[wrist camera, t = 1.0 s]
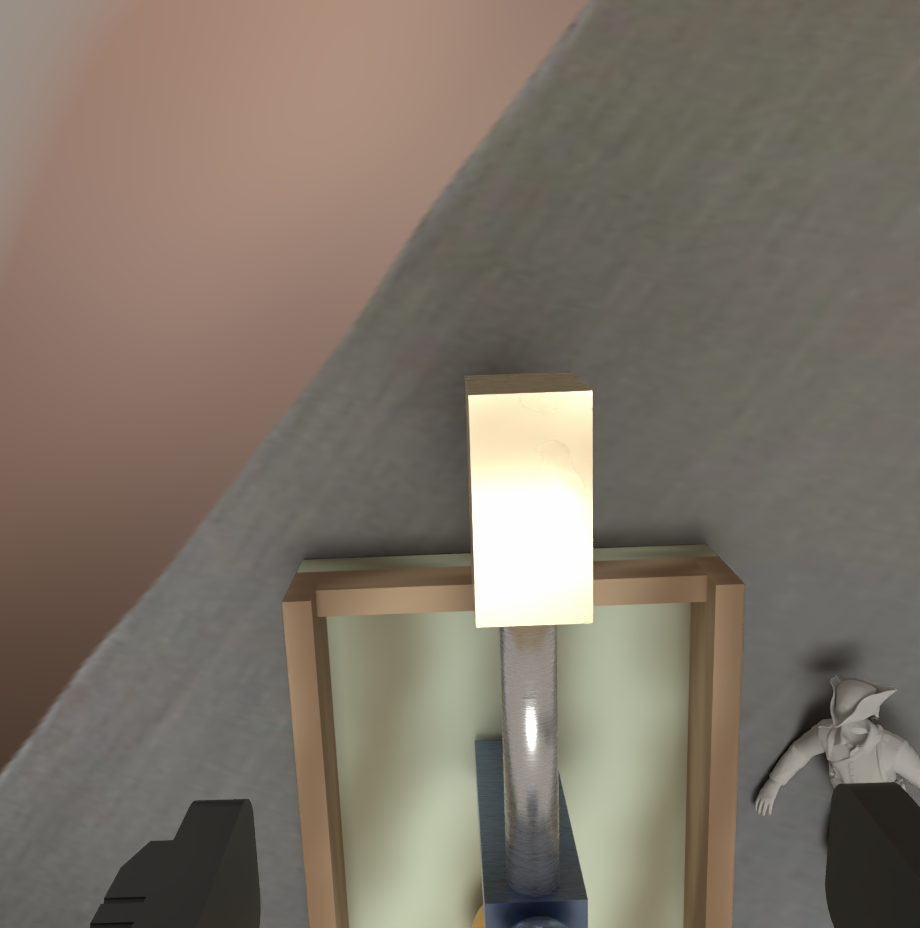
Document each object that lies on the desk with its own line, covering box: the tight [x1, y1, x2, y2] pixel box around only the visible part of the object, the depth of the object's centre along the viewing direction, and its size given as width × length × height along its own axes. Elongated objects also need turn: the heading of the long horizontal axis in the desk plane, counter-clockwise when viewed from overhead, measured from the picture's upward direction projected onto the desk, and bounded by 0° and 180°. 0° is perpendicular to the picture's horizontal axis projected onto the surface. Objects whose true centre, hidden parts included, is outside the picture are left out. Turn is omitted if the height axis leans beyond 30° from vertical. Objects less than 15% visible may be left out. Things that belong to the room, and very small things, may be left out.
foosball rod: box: [465, 372, 593, 928], centre depth 27 cm, size 3×17×12 cm, turn 2°
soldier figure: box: [755, 675, 920, 816], centre depth 35 cm, size 8×5×12 cm
